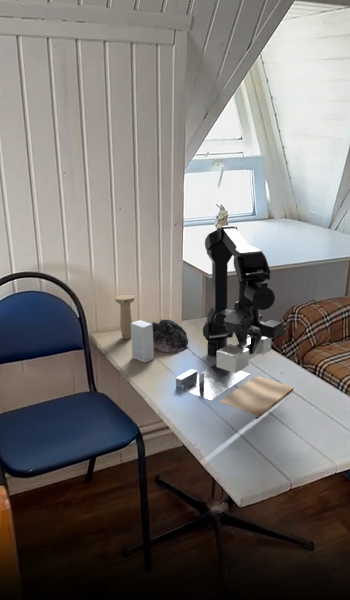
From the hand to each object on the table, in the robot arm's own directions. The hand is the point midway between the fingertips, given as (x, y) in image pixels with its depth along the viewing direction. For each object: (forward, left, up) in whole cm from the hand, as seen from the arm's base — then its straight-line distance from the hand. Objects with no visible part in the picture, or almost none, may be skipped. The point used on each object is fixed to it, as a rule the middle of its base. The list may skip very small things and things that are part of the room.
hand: (247, 352), depth 149 cm
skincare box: (+1, -39, -13) cm, 40 cm away
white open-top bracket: (+1, 0, -1) cm, 2 cm away
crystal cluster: (-13, -39, -13) cm, 43 cm away
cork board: (0, +3, -12) cm, 13 cm away
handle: (-8, -55, -13) cm, 57 cm away
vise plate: (+1, -11, -12) cm, 16 cm away
